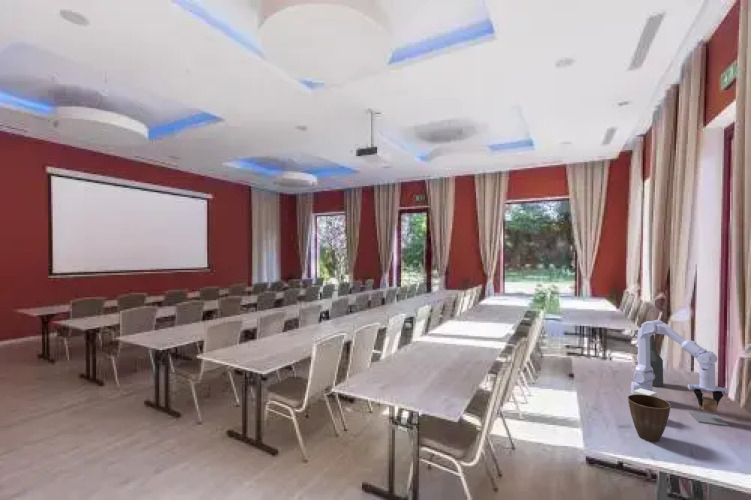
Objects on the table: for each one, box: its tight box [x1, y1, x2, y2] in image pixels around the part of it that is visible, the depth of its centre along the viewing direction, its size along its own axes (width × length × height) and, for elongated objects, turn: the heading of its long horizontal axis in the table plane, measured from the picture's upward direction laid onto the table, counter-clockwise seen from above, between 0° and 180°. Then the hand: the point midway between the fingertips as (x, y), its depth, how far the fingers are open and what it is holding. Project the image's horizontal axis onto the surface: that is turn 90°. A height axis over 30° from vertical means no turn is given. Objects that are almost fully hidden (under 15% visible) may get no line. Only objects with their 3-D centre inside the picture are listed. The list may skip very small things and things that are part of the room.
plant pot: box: [627, 394, 671, 443], centre depth 161 cm, size 15×15×16 cm
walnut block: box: [698, 396, 718, 413], centre depth 178 cm, size 5×5×5 cm
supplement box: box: [633, 388, 658, 398], centre depth 181 cm, size 7×7×13 cm
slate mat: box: [688, 411, 729, 427], centre depth 178 cm, size 11×11×1 cm
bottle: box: [650, 334, 664, 388], centre depth 225 cm, size 10×10×30 cm
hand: (707, 405), depth 178 cm, fingers closed on walnut block, 5 cm apart
